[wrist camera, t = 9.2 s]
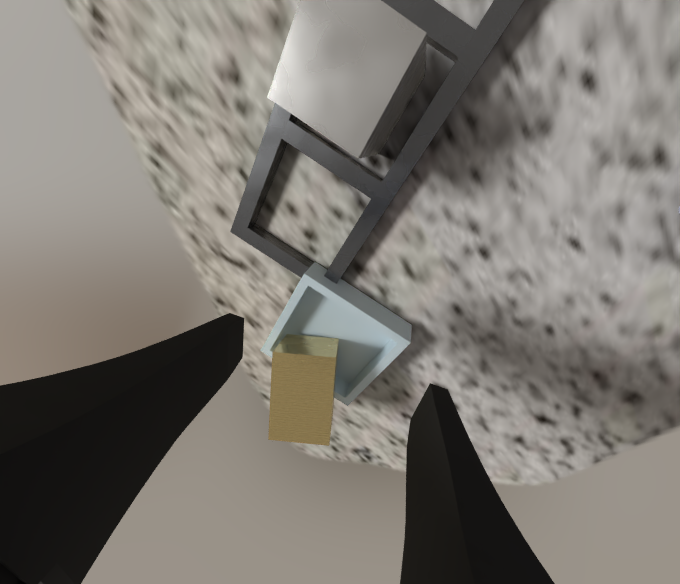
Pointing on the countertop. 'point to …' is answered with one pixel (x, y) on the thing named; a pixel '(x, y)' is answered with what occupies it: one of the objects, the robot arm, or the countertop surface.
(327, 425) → the tan wooden post
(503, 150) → the countertop surface
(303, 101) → the grey block
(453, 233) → the countertop surface
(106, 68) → the countertop surface
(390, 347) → the parts tray
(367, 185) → the rail
